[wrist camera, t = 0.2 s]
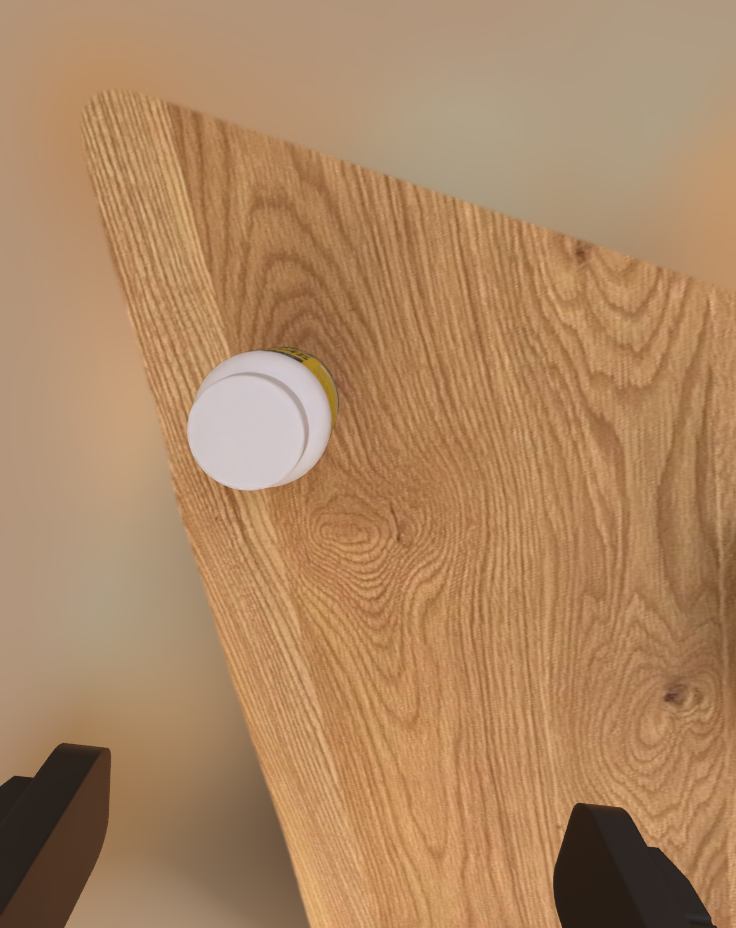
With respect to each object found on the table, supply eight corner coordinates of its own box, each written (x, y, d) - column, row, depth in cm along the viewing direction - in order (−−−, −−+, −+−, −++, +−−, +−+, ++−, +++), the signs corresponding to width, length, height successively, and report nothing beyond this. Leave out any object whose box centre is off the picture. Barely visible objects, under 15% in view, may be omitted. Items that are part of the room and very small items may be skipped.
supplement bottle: (325, 334, 26) (305, 337, 17) (349, 438, 28) (344, 494, 18) (220, 358, 27) (143, 374, 17) (250, 460, 28) (193, 527, 18)
